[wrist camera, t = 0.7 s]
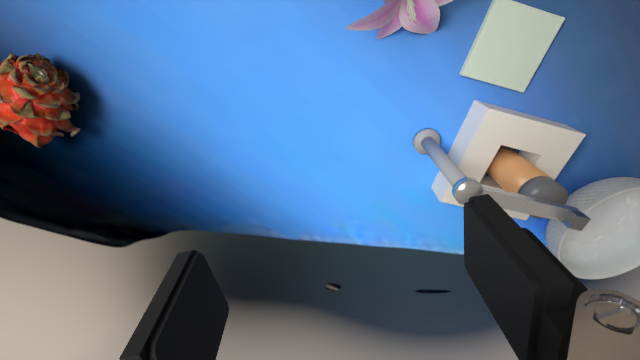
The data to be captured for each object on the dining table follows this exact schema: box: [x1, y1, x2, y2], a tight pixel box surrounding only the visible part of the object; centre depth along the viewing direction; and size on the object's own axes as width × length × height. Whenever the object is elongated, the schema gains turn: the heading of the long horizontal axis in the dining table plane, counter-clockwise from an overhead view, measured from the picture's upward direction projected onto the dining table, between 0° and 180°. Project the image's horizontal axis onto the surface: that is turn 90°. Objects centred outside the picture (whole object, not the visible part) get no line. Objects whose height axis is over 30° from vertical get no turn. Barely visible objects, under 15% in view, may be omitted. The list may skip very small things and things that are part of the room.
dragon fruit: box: [0, 53, 81, 148], centre depth 38 cm, size 8×8×12 cm
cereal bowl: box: [545, 177, 640, 279], centre depth 49 cm, size 17×17×7 cm
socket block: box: [413, 100, 586, 220], centre depth 41 cm, size 14×20×13 cm
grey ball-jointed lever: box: [452, 177, 591, 231], centre depth 34 cm, size 14×3×2 cm, turn 75°
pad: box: [459, 0, 565, 93], centre depth 40 cm, size 9×9×1 cm
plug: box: [486, 145, 568, 218], centre depth 42 cm, size 5×5×12 cm
